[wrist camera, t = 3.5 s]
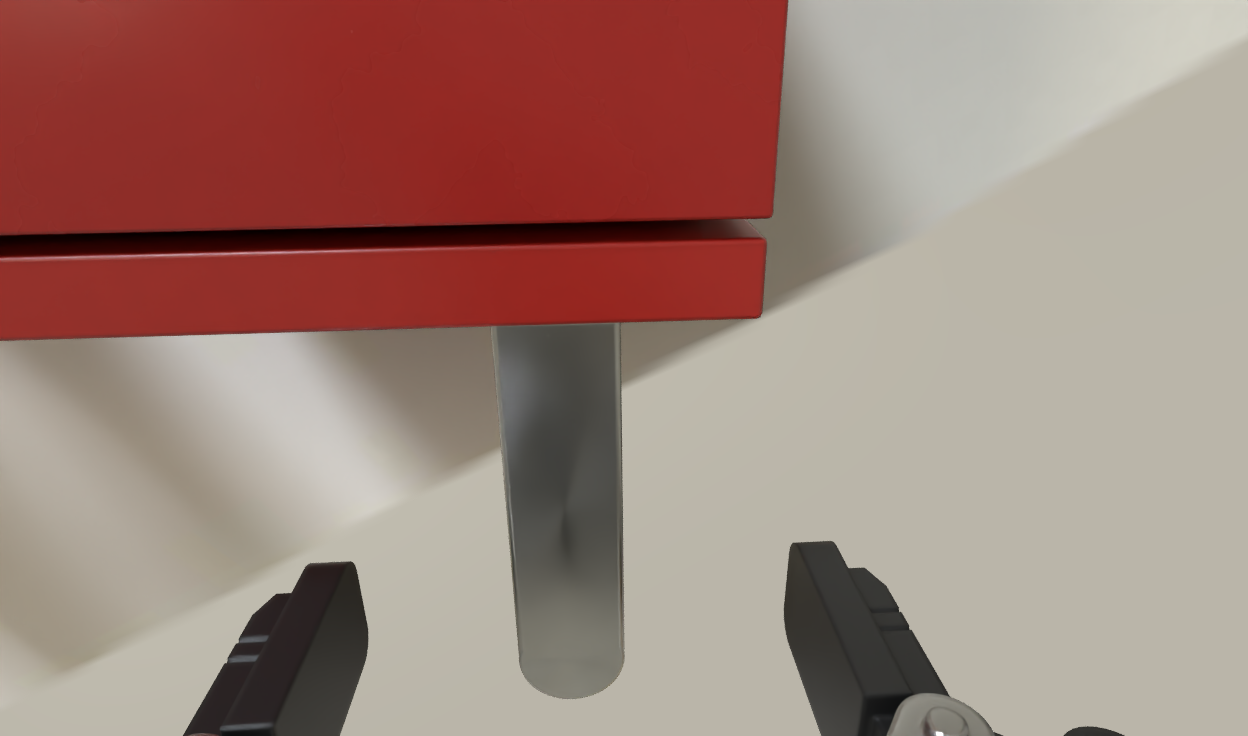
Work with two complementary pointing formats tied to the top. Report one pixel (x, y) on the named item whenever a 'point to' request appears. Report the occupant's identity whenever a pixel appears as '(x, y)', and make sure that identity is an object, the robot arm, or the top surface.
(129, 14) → the red upright rectangular box
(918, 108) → the top surface
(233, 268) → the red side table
